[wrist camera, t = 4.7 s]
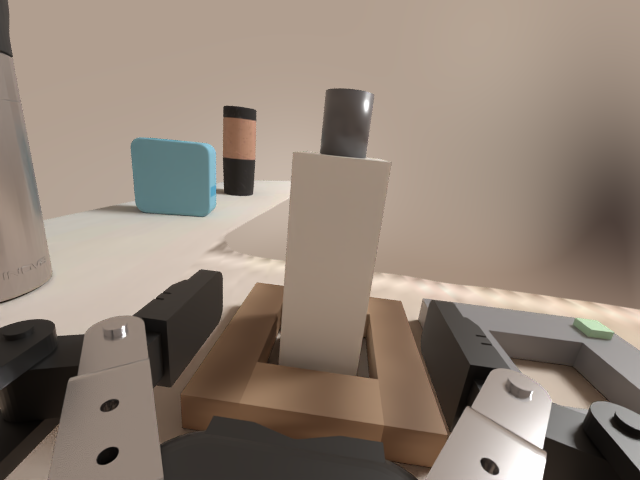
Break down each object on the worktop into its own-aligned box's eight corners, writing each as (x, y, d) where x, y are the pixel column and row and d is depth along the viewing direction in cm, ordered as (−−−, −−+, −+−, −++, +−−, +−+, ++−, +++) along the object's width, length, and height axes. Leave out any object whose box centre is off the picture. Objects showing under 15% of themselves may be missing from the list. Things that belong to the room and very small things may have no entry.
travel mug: (217, 193, 73) (217, 104, 67) (230, 189, 80) (230, 109, 74) (248, 197, 72) (250, 107, 66) (258, 192, 80) (260, 111, 74)
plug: (277, 381, 18) (298, 79, 13) (291, 335, 22) (310, 96, 17) (353, 392, 17) (403, 89, 13) (352, 344, 22) (389, 104, 17)
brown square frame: (182, 427, 14) (180, 394, 14) (255, 303, 26) (256, 282, 25) (438, 468, 14) (447, 435, 13) (396, 322, 25) (401, 301, 24)
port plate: (493, 500, 13) (511, 454, 12) (418, 319, 26) (424, 292, 25) (859, 560, 12) (905, 515, 11) (587, 341, 25) (598, 314, 24)
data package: (216, 211, 56) (216, 144, 52) (210, 217, 51) (209, 144, 48) (147, 206, 54) (142, 137, 51) (135, 212, 50) (129, 136, 46)
